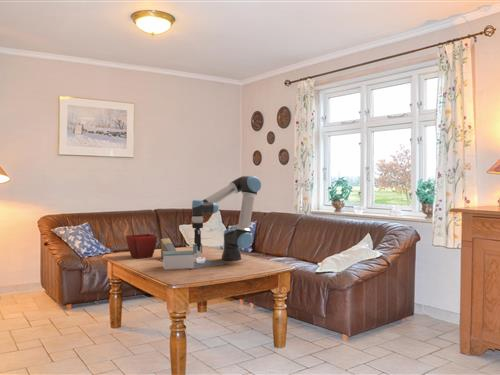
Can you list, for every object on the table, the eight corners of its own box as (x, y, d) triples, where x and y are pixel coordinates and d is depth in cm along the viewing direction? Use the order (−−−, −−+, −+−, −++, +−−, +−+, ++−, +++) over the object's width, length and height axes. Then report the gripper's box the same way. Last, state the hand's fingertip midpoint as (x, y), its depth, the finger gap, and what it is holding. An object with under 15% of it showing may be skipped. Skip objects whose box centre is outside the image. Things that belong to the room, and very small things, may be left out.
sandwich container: (173, 260, 338) (173, 240, 338) (160, 258, 348) (160, 239, 348) (182, 259, 345) (182, 239, 345) (169, 256, 355) (169, 238, 355)
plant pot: (125, 256, 356) (125, 235, 355) (148, 254, 367) (148, 233, 367) (134, 259, 340) (134, 237, 340) (158, 257, 351) (157, 236, 351)
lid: (200, 251, 318) (200, 243, 318) (203, 254, 306) (203, 245, 306) (162, 252, 311) (162, 244, 311) (163, 255, 299) (163, 247, 299)
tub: (191, 265, 316) (191, 251, 316) (193, 269, 305) (193, 254, 305) (163, 267, 311) (163, 252, 311) (164, 270, 300) (164, 255, 300)
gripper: (190, 220, 321) (190, 251, 321) (194, 223, 299) (194, 257, 299) (200, 220, 323) (200, 251, 323) (205, 223, 301) (205, 256, 301)
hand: (197, 254), depth 311 cm, fingers open, 10 cm apart
